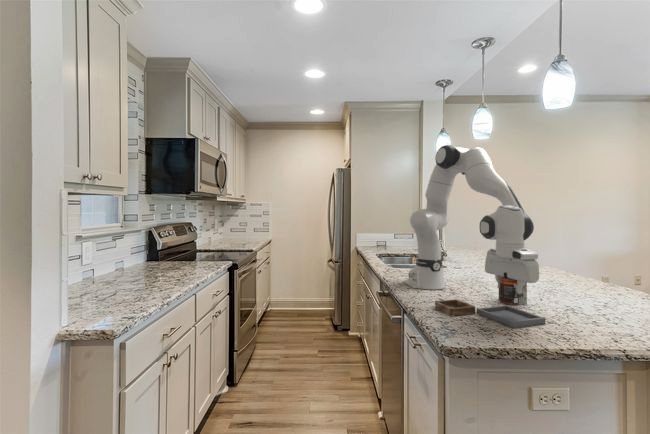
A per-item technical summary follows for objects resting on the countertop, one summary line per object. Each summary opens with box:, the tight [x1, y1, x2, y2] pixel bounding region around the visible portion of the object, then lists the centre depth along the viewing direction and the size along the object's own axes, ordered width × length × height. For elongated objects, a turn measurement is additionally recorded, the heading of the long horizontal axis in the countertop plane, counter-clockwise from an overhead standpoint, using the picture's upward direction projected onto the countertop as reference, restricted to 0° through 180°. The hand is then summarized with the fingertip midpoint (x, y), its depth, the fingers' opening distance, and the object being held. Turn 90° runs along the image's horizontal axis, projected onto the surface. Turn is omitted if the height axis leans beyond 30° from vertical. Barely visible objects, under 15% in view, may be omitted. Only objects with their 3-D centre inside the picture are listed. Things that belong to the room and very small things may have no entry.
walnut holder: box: [434, 299, 476, 317], centre depth 128 cm, size 11×11×2 cm
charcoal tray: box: [476, 304, 546, 329], centre depth 118 cm, size 16×14×2 cm
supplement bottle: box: [499, 272, 520, 307], centre depth 118 cm, size 6×6×11 cm
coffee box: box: [498, 282, 528, 306], centre depth 139 cm, size 9×6×16 cm
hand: (509, 290), depth 118 cm, fingers closed on supplement bottle, 6 cm apart
